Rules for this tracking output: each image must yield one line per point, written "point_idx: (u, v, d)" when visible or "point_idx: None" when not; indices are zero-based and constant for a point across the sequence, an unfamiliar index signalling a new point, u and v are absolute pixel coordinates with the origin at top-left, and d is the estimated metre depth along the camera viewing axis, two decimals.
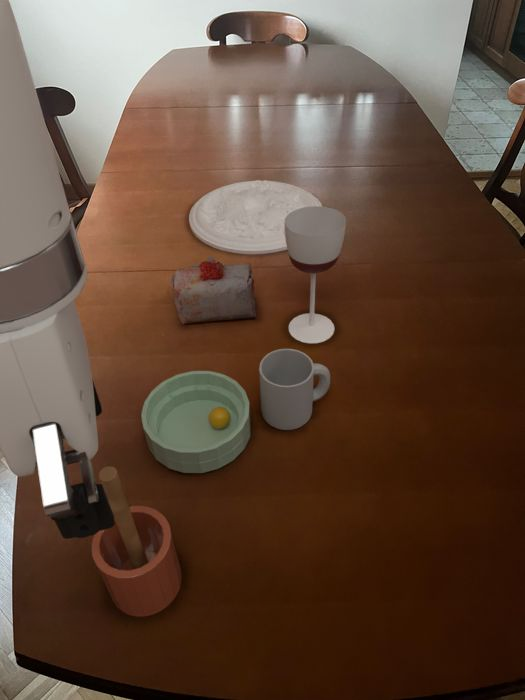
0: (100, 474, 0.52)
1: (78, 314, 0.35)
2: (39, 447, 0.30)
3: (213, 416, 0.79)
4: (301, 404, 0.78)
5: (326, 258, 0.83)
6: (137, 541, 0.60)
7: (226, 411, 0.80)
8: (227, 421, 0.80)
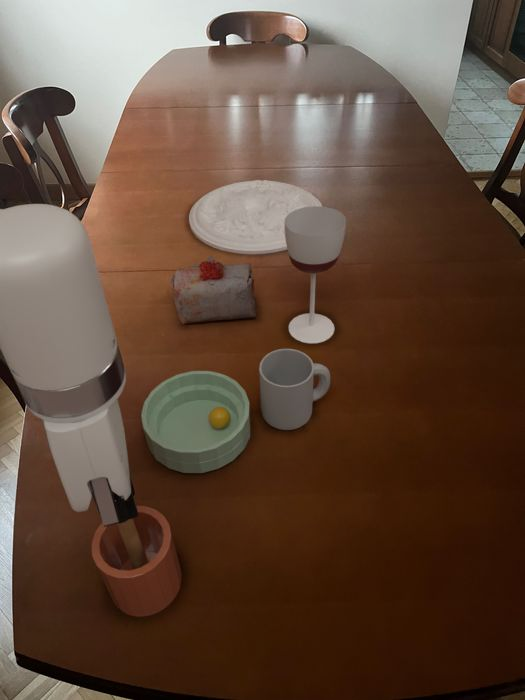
0: None
1: None
2: (97, 494, 0.46)
3: (213, 416, 0.79)
4: (301, 404, 0.78)
5: (326, 258, 0.83)
6: (137, 541, 0.60)
7: (226, 411, 0.80)
8: (227, 421, 0.80)
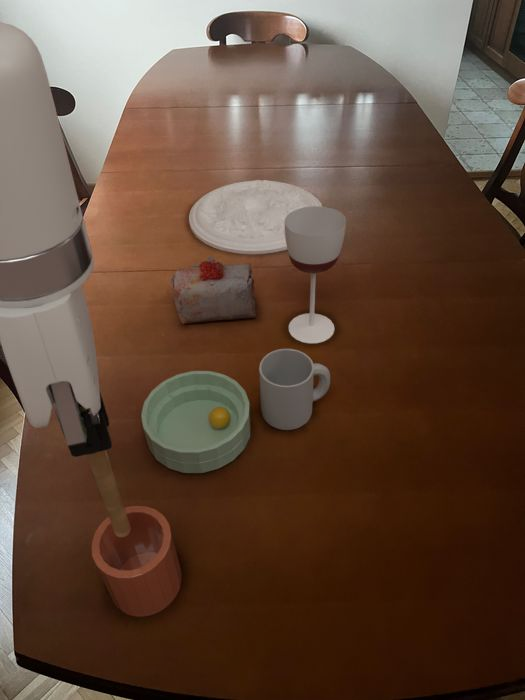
0: None
1: None
2: (59, 405, 0.39)
3: (213, 416, 0.79)
4: (301, 404, 0.78)
5: (326, 258, 0.83)
6: (112, 482, 0.52)
7: (226, 411, 0.80)
8: (227, 421, 0.80)
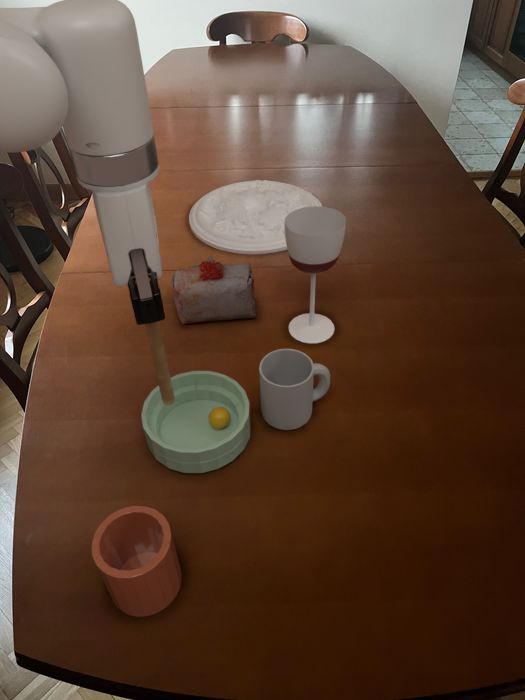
0: None
1: None
2: (136, 268, 0.56)
3: (213, 416, 0.79)
4: (301, 404, 0.78)
5: (326, 258, 0.83)
6: (163, 352, 0.69)
7: (226, 411, 0.80)
8: (227, 421, 0.80)
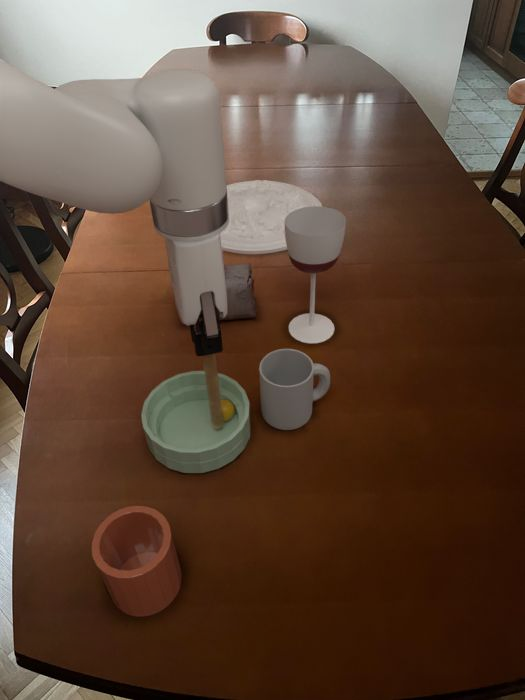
0: None
1: None
2: (204, 309, 0.60)
3: (221, 401, 0.81)
4: (301, 404, 0.78)
5: (326, 258, 0.83)
6: (217, 381, 0.74)
7: None
8: (232, 411, 0.81)
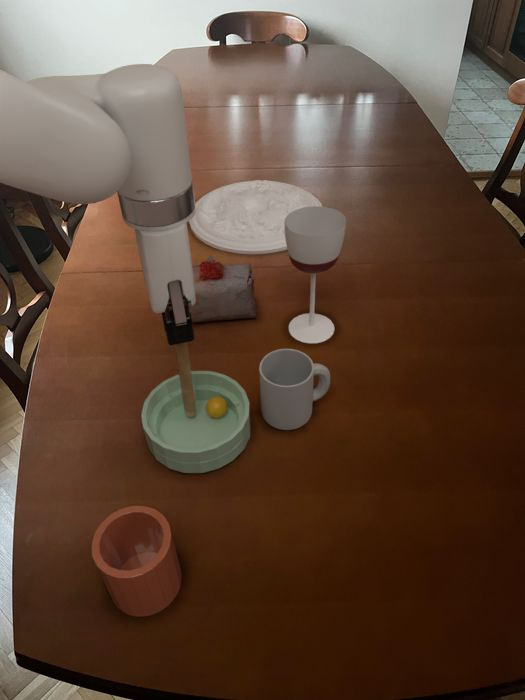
0: None
1: None
2: (173, 297, 0.62)
3: (214, 398, 0.81)
4: (301, 404, 0.78)
5: (326, 258, 0.83)
6: (190, 369, 0.76)
7: (226, 406, 0.81)
8: (219, 412, 0.81)
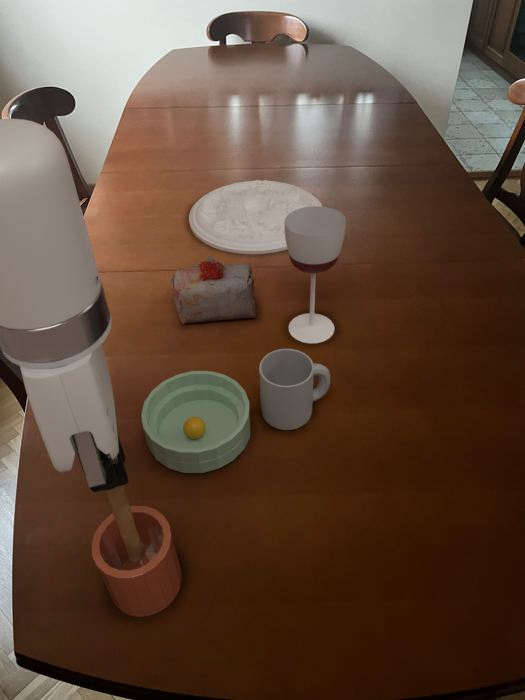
0: None
1: None
2: (81, 452, 0.42)
3: None
4: (301, 404, 0.78)
5: (326, 258, 0.83)
6: (128, 511, 0.56)
7: (198, 437, 0.79)
8: None
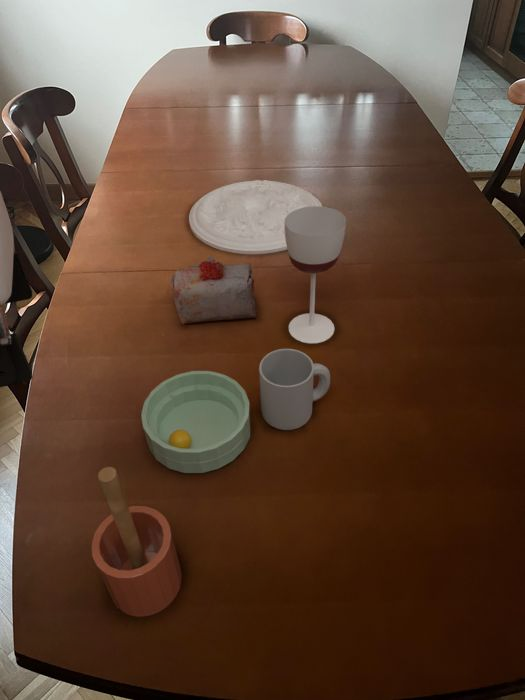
0: (99, 475, 0.52)
1: None
2: None
3: None
4: (301, 404, 0.78)
5: (326, 258, 0.83)
6: (137, 541, 0.60)
7: (190, 445, 0.78)
8: (187, 440, 0.77)
